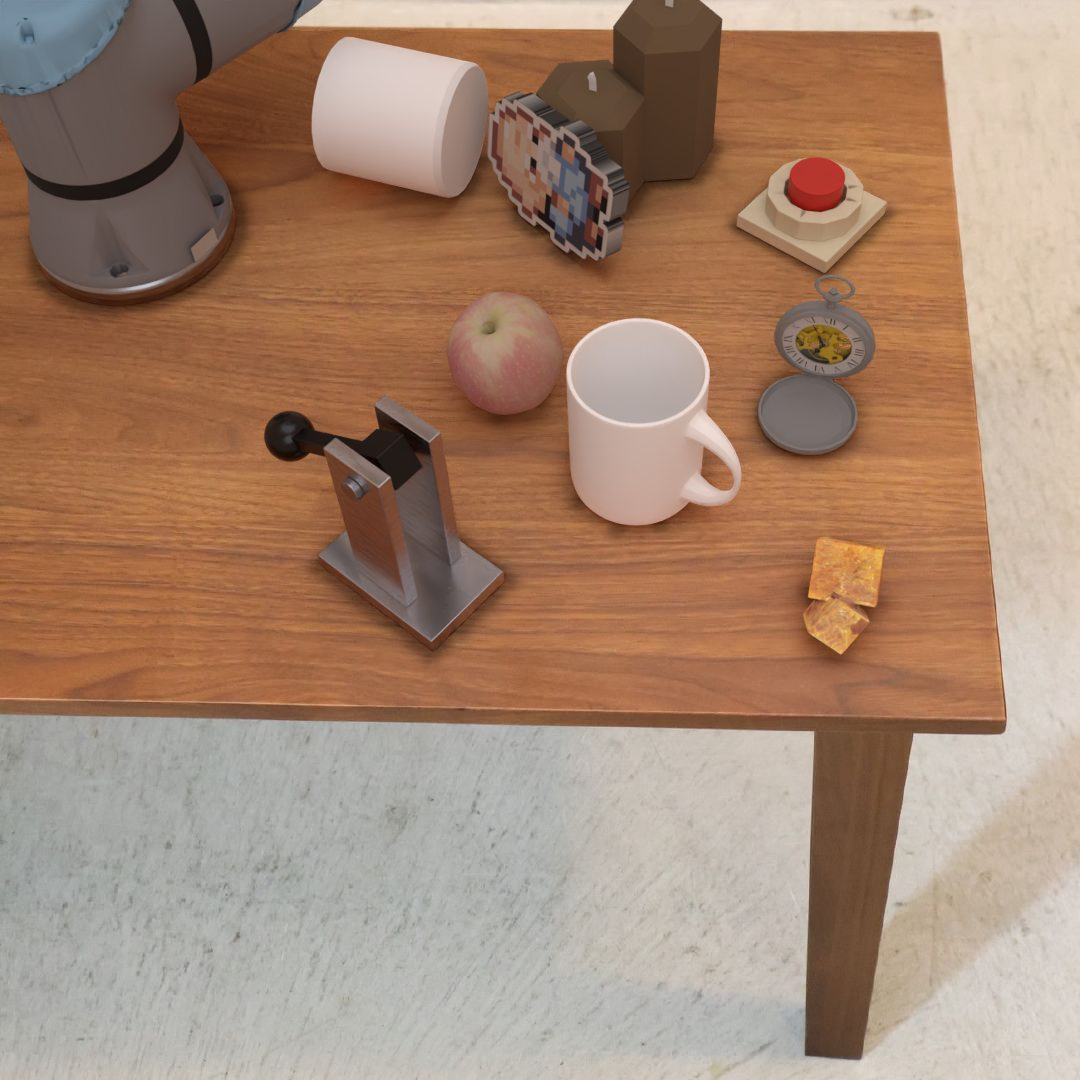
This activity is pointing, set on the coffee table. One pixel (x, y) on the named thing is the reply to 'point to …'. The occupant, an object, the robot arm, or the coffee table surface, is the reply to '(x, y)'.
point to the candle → (648, 90)
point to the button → (816, 184)
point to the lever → (385, 449)
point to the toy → (558, 175)
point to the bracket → (405, 535)
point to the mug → (642, 423)
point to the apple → (505, 353)
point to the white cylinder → (400, 116)
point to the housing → (811, 220)
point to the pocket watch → (816, 374)
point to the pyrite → (843, 589)
